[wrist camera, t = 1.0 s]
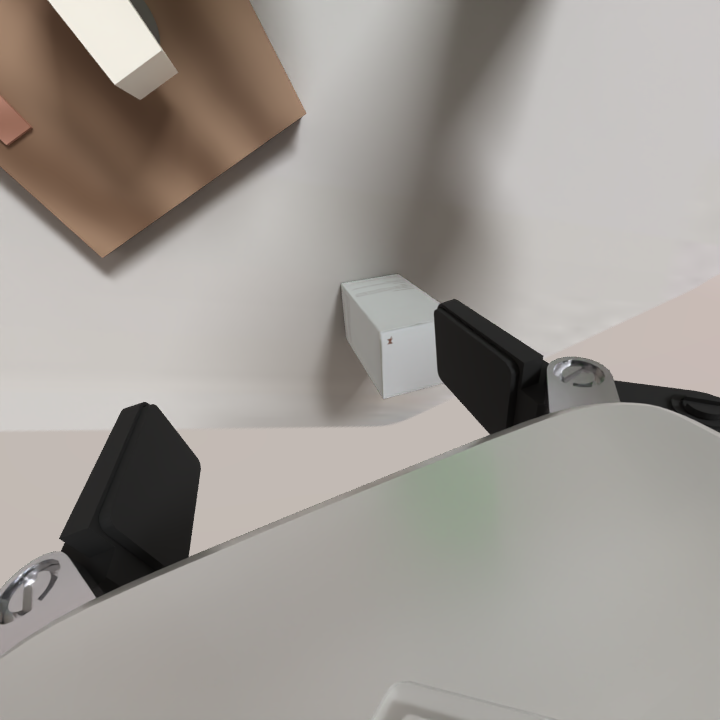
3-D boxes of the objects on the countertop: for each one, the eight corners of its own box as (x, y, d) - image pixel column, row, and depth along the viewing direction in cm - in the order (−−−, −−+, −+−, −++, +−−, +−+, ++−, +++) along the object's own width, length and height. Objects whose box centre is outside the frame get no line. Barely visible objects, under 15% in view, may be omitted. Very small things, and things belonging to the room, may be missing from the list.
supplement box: (344, 339, 39) (380, 402, 29) (339, 281, 35) (378, 330, 25) (399, 328, 41) (451, 384, 31) (400, 272, 37) (461, 314, 27)
